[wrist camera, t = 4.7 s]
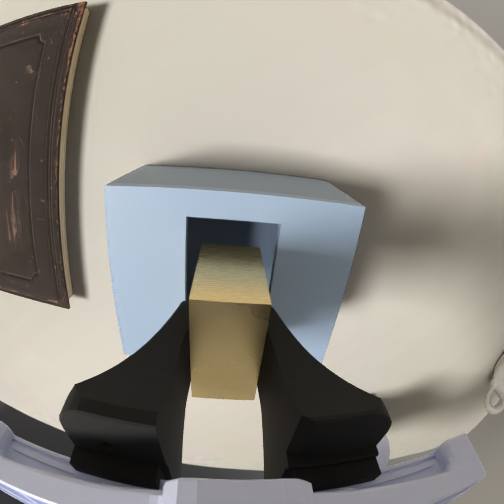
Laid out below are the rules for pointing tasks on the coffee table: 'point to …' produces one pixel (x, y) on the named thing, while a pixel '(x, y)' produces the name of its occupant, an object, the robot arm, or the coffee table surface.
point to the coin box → (229, 243)
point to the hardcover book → (36, 150)
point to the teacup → (496, 388)
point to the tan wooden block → (228, 321)
